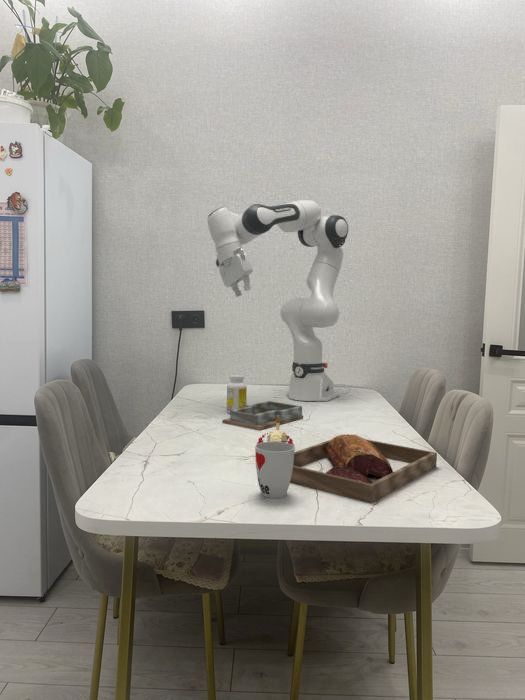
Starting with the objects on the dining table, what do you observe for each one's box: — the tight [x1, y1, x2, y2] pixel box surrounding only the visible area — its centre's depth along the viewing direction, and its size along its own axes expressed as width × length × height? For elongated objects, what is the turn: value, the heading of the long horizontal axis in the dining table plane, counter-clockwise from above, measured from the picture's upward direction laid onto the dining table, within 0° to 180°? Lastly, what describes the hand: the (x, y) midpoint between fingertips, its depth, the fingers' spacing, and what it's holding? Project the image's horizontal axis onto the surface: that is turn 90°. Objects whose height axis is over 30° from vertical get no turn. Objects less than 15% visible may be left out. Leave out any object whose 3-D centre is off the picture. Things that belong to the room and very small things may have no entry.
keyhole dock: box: [221, 400, 304, 431], centre depth 192 cm, size 23×15×4 cm, turn 142°
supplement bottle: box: [226, 374, 248, 415], centre depth 204 cm, size 7×7×13 cm
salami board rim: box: [290, 438, 438, 504], centre depth 140 cm, size 33×26×4 cm
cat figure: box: [256, 415, 295, 446], centre depth 155 cm, size 10×9×25 cm
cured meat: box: [325, 433, 394, 484], centre depth 140 cm, size 18×25×7 cm
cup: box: [254, 441, 296, 499], centre depth 123 cm, size 8×8×10 cm
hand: (243, 293), depth 204 cm, fingers open, 8 cm apart
